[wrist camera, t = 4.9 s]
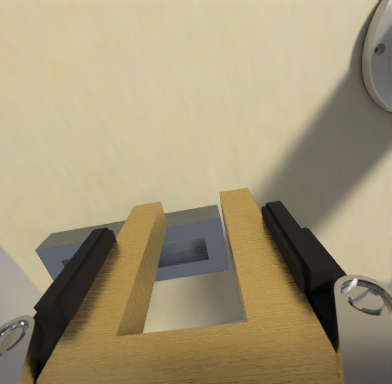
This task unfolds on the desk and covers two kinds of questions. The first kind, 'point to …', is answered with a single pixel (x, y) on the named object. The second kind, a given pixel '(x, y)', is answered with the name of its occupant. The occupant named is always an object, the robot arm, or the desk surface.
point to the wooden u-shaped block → (201, 336)
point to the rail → (171, 250)
